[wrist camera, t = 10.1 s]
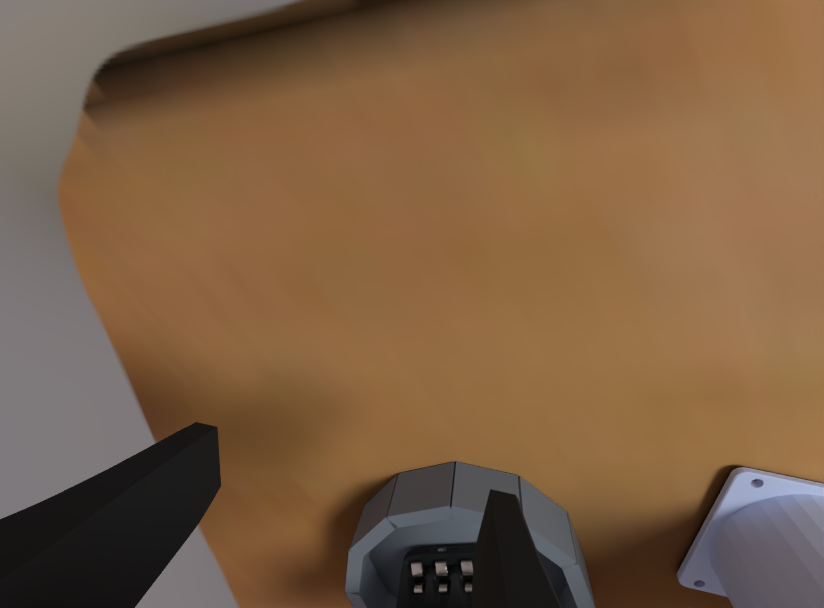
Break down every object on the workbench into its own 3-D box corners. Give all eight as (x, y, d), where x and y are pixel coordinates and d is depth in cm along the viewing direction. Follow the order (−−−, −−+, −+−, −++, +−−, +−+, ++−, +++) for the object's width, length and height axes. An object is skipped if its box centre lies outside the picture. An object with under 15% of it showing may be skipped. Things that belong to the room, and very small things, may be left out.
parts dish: (609, 495, 22) (626, 546, 19) (548, 646, 27) (555, 703, 24) (371, 442, 23) (355, 483, 21) (354, 594, 28) (339, 644, 26)
